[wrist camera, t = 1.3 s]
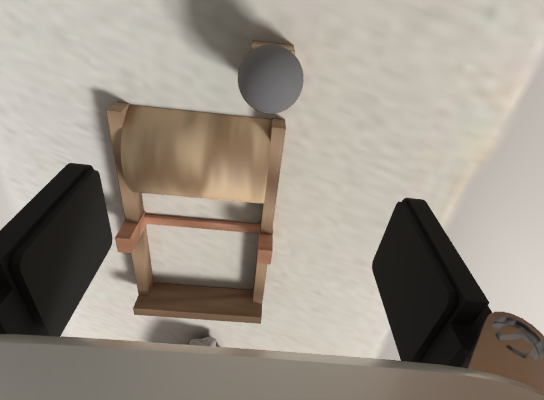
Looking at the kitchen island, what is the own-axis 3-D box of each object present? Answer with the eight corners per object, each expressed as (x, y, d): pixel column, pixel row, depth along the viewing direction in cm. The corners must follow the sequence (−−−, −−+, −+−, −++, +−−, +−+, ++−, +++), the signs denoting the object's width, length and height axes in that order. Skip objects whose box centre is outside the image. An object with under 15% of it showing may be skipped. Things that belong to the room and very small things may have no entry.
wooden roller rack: (136, 83, 30) (91, 121, 22) (284, 99, 31) (287, 141, 23) (157, 256, 42) (131, 318, 34) (263, 264, 42) (261, 327, 35)
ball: (242, 35, 21) (236, 47, 18) (305, 42, 21) (311, 55, 18) (239, 98, 23) (233, 119, 20) (296, 104, 24) (300, 126, 20)
